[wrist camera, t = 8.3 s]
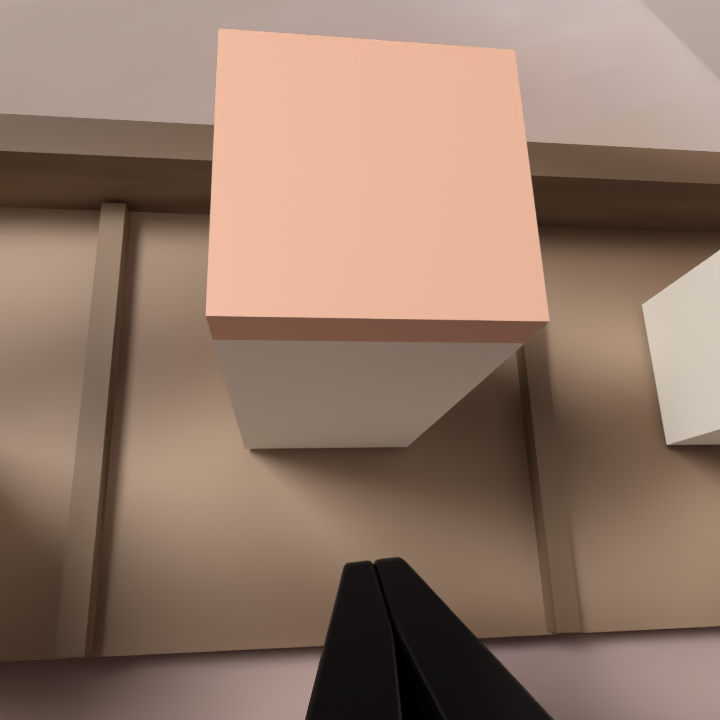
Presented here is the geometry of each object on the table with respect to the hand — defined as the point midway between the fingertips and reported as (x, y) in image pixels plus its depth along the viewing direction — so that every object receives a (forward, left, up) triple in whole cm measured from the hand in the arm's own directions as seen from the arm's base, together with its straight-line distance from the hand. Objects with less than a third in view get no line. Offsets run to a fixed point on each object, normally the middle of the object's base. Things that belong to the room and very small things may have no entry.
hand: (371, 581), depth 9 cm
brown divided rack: (+4, +3, -7) cm, 8 cm away
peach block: (+4, +3, -6) cm, 8 cm away
